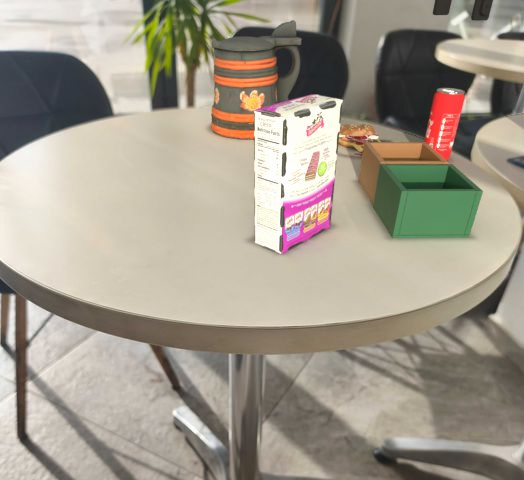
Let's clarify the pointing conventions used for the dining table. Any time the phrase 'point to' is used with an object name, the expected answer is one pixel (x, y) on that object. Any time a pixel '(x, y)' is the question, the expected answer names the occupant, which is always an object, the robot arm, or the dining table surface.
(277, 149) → the candy bar box
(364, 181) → the paper bin
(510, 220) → the dining table surface
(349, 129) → the hamburger
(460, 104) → the beverage can
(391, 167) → the bin
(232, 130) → the beer stein
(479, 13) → the robot arm
